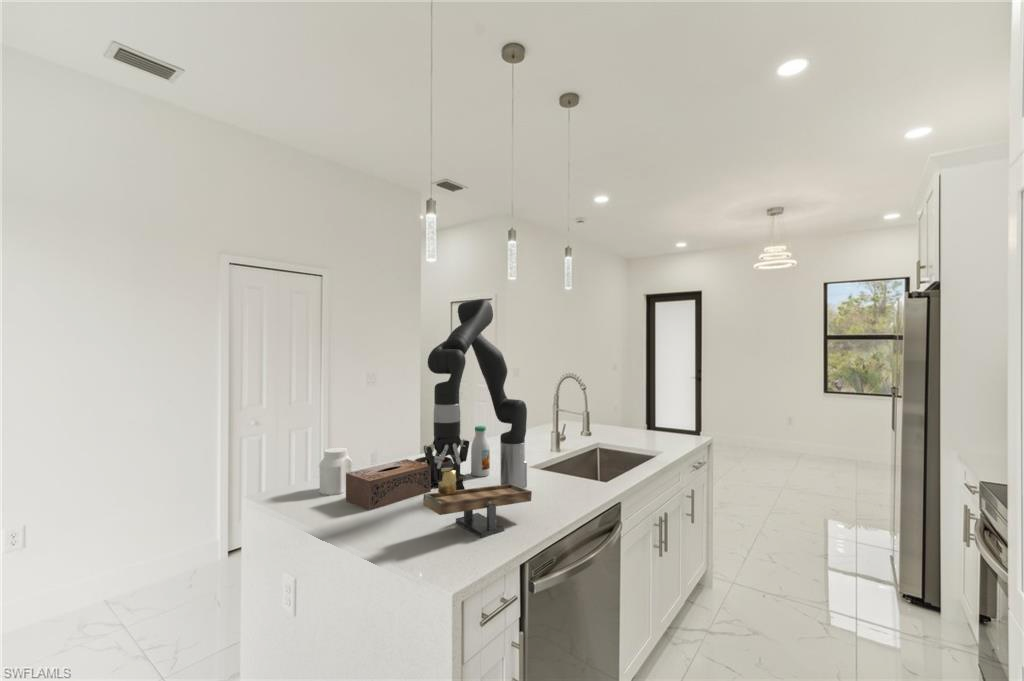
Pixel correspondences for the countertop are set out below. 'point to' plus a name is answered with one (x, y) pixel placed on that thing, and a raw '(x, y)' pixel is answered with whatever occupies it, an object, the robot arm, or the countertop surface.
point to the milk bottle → (480, 453)
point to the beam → (476, 498)
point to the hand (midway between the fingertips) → (447, 478)
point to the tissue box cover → (387, 483)
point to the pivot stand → (481, 522)
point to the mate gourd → (459, 484)
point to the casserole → (445, 464)
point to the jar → (334, 471)
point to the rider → (447, 481)
